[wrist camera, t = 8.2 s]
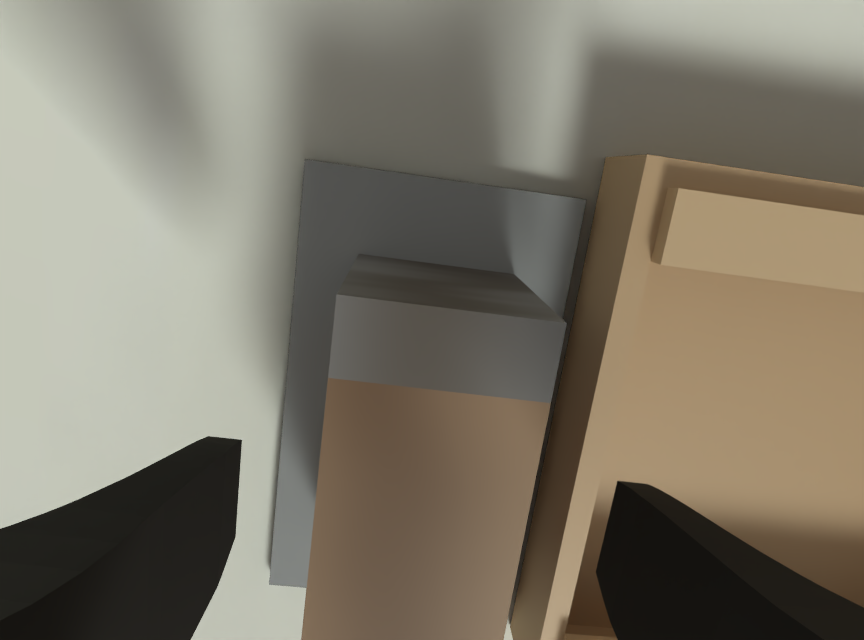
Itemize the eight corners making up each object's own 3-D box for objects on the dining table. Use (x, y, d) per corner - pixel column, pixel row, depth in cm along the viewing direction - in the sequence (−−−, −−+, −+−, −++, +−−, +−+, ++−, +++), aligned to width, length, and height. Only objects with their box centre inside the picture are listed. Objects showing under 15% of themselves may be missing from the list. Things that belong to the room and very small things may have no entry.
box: (514, 274, 15) (566, 323, 10) (466, 544, 17) (491, 694, 12) (358, 253, 15) (336, 294, 10) (328, 531, 17) (297, 680, 12)
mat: (581, 198, 15) (586, 199, 15) (503, 595, 18) (505, 604, 17) (307, 159, 14) (304, 159, 14) (272, 575, 17) (269, 584, 17)
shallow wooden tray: (1043, 222, 16) (1193, 235, 13) (874, 656, 19) (962, 747, 16) (605, 157, 15) (657, 153, 12) (510, 626, 18) (531, 716, 15)
